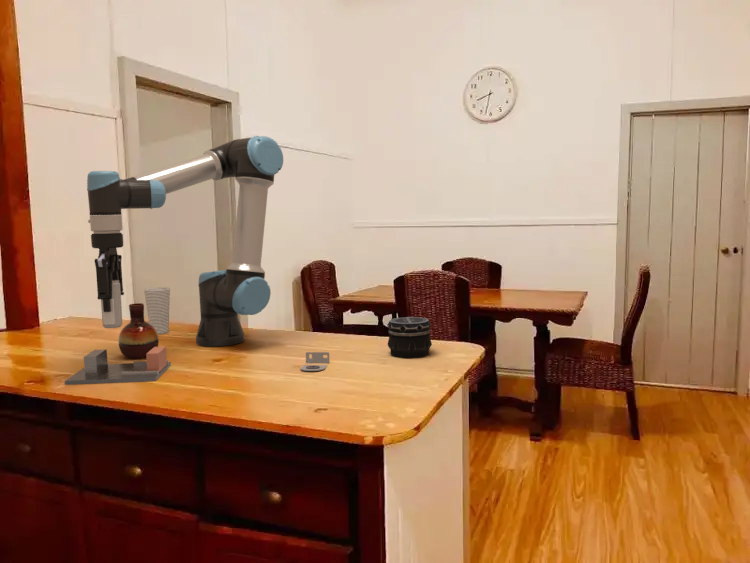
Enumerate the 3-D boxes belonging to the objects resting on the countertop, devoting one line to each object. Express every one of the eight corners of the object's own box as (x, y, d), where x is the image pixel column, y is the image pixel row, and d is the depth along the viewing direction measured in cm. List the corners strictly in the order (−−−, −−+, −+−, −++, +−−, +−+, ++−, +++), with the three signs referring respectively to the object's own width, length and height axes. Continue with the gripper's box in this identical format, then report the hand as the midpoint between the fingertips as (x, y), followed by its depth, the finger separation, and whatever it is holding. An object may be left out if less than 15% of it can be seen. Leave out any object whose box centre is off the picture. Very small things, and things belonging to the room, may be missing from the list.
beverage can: (116, 324, 167) (113, 279, 166) (126, 326, 164) (123, 280, 163) (99, 327, 164) (96, 281, 162) (108, 329, 160) (105, 282, 159)
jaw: (166, 364, 170) (165, 346, 170) (159, 372, 162) (158, 353, 162) (155, 365, 170) (154, 346, 169) (147, 372, 162) (146, 353, 161)
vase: (167, 352, 190) (164, 301, 188) (144, 361, 179) (140, 307, 178) (135, 351, 193) (132, 301, 191) (111, 359, 182) (107, 306, 181)
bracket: (297, 373, 164) (297, 360, 164) (306, 364, 174) (305, 352, 174) (322, 373, 164) (322, 360, 163) (329, 364, 174) (329, 352, 173)
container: (379, 352, 185) (379, 318, 184) (417, 346, 191) (417, 314, 190) (401, 361, 174) (400, 325, 173) (440, 355, 180) (440, 321, 179)
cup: (147, 331, 223) (144, 288, 222) (172, 329, 226) (170, 286, 224) (146, 336, 215) (143, 291, 214) (172, 334, 218) (169, 289, 216)
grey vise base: (170, 365, 174) (169, 343, 174) (155, 381, 158) (154, 357, 158) (88, 368, 173) (87, 346, 172) (64, 384, 157) (63, 361, 156)
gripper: (103, 231, 170) (109, 316, 172) (78, 234, 152) (85, 329, 155) (132, 230, 170) (137, 316, 173) (110, 233, 152) (116, 328, 155)
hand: (112, 322), depth 164 cm, fingers closed on beverage can, 5 cm apart
